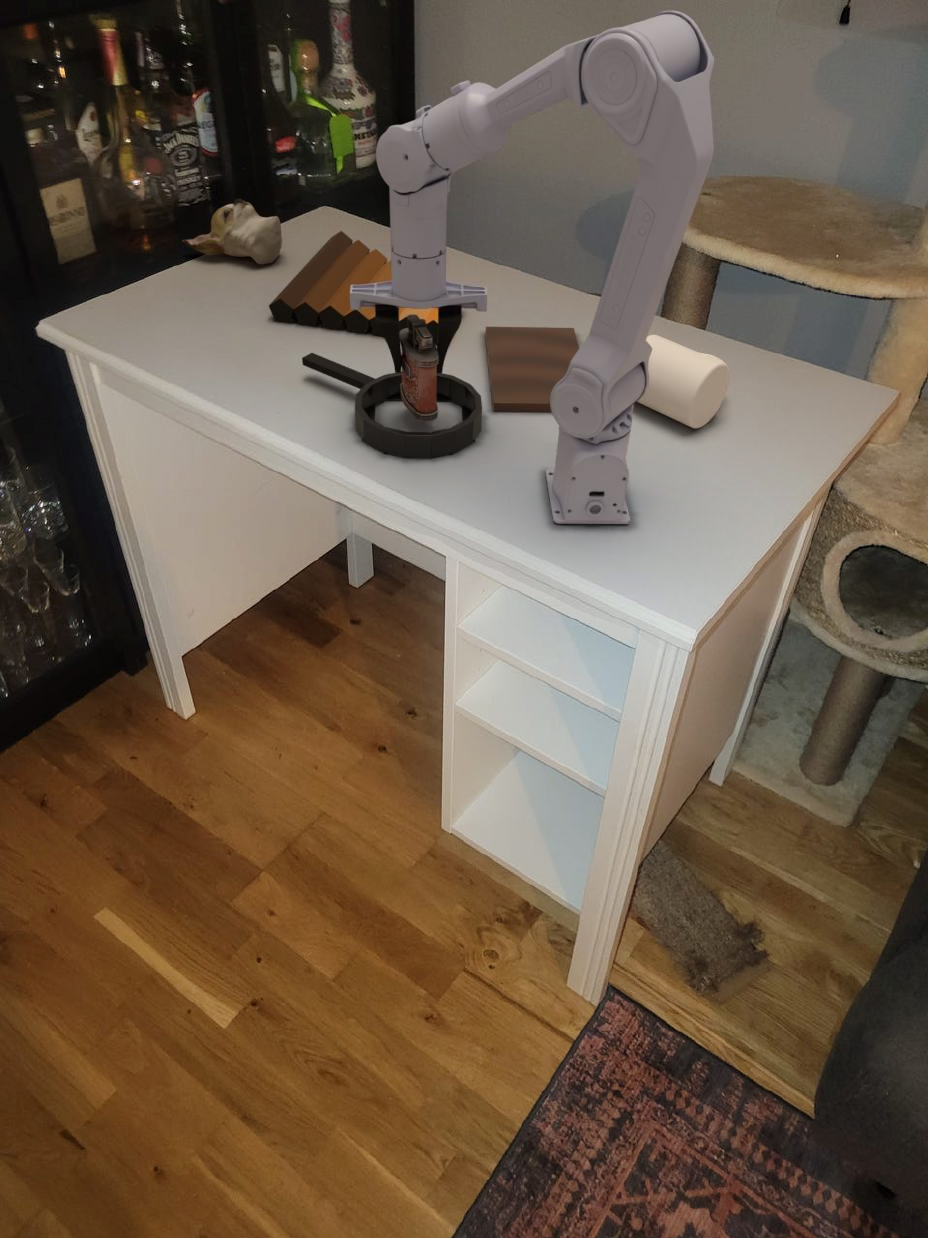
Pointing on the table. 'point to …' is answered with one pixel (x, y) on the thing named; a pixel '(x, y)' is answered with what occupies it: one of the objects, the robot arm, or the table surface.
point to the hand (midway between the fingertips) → (419, 368)
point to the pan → (390, 390)
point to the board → (527, 365)
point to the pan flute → (341, 290)
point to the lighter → (419, 370)
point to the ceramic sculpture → (241, 234)
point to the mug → (684, 382)
